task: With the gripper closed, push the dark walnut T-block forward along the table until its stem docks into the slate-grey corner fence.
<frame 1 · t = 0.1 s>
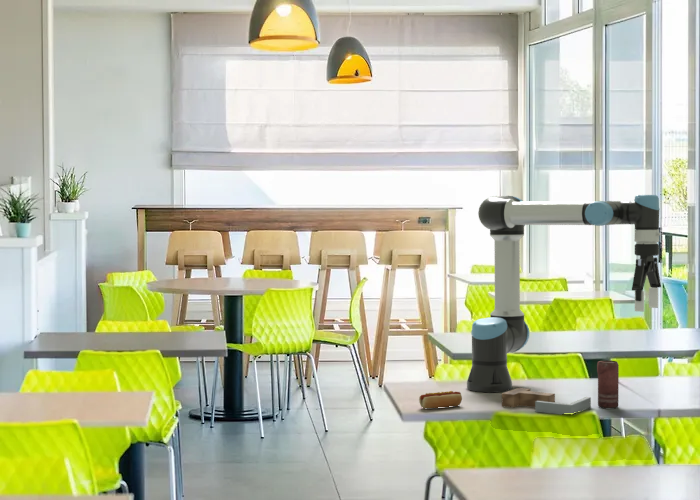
hand: (646, 309, 341), 28 cm above the table, fingers open, 13 cm apart
can: (607, 407, 325), on the table
food: (440, 408, 327), on the table
t block: (516, 403, 332), on the table
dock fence: (578, 411, 320), on the table
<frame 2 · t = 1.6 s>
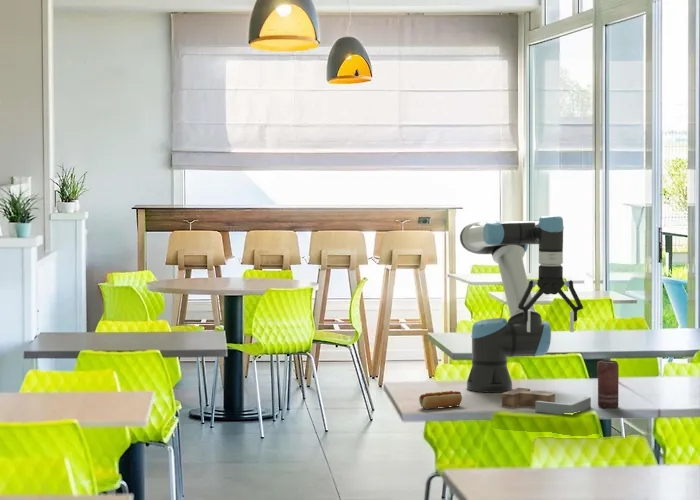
hand: (550, 331, 339), 21 cm above the table, fingers open, 13 cm apart
nothing on the table moved.
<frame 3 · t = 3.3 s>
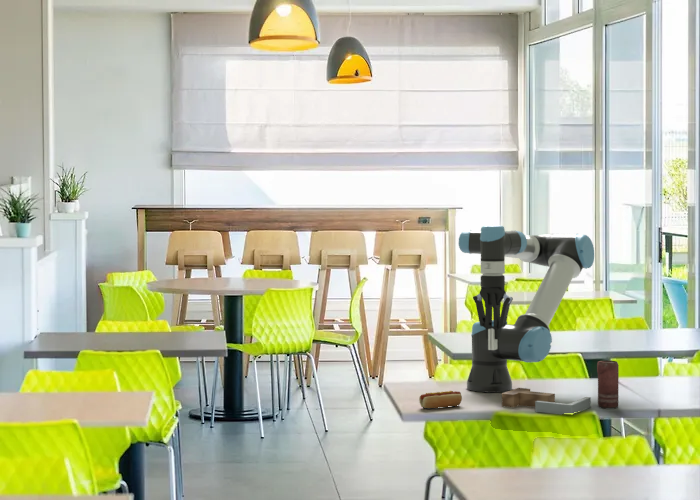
hand: (492, 349, 336), 16 cm above the table, fingers closed
nothing on the table moved.
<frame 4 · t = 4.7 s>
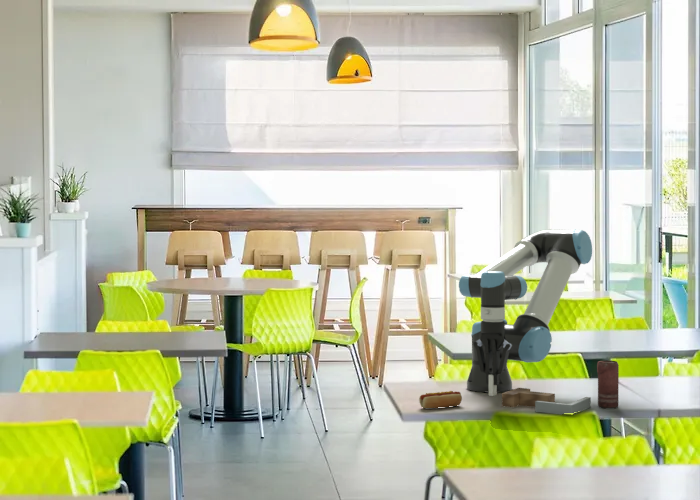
hand: (492, 394, 336), 2 cm above the table, fingers closed
nothing on the table moved.
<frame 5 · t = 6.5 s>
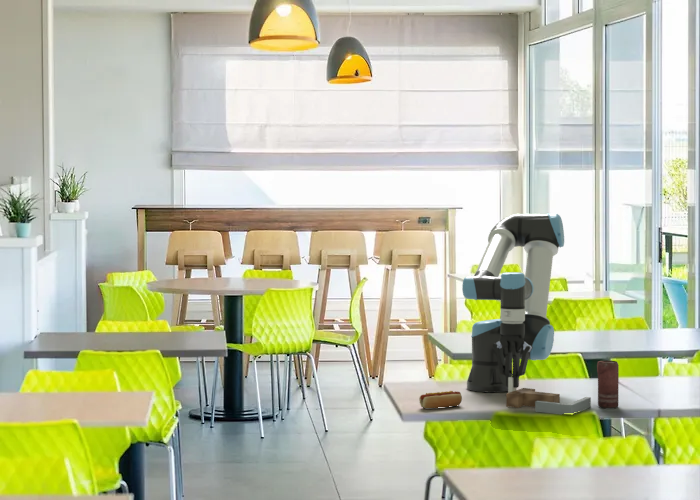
hand: (512, 397, 332), 2 cm above the table, fingers closed
t block: (520, 404, 331), on the table, touching gripper
everything else where it was.
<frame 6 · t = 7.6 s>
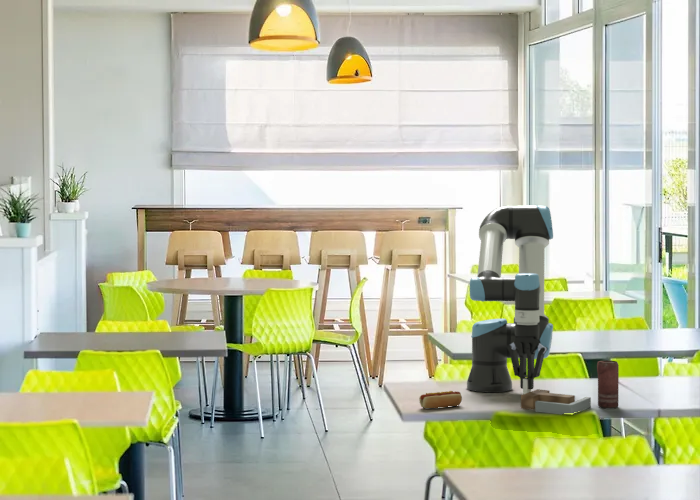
hand: (526, 399, 330), 2 cm above the table, fingers closed
t block: (535, 405, 329), on the table, touching gripper
everything else where it was.
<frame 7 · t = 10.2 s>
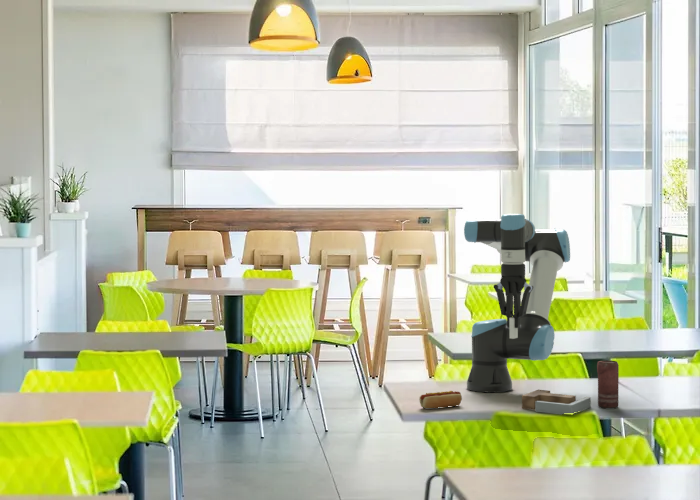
hand: (513, 337, 336), 20 cm above the table, fingers closed
t block: (536, 405, 328), on the table
everything else where it was.
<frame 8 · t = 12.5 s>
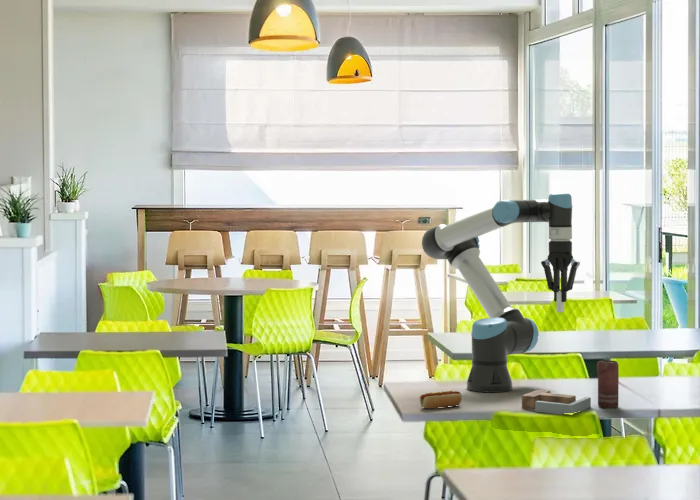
hand: (560, 311, 352), 26 cm above the table, fingers closed
nothing on the table moved.
at the end: t block inside the target area (1.6 cm from its centre), on the table; t block moved 6.7 cm from its start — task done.
